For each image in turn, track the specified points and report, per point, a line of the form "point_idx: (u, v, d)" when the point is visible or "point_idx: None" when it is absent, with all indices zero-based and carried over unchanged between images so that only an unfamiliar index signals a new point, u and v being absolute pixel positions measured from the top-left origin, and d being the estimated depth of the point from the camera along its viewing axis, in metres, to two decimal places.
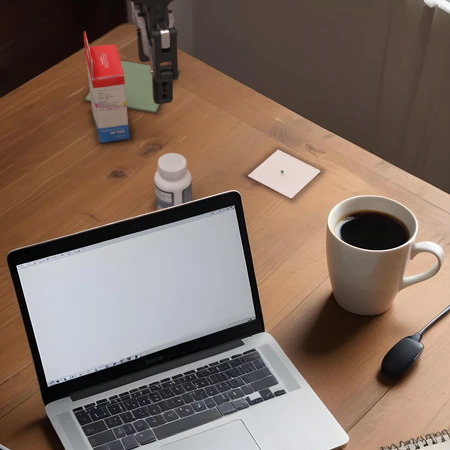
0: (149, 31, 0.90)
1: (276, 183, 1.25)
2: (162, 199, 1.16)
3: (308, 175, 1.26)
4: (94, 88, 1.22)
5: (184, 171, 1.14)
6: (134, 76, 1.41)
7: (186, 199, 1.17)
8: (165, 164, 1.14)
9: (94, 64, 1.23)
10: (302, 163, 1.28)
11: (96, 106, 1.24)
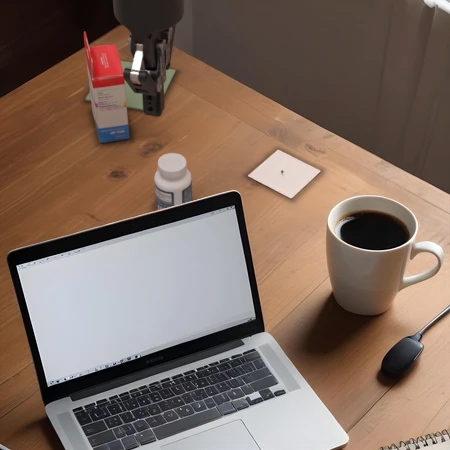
0: None
1: (276, 183, 1.25)
2: (162, 199, 1.16)
3: (308, 175, 1.26)
4: (94, 88, 1.22)
5: (184, 171, 1.14)
6: None
7: (186, 199, 1.17)
8: (165, 164, 1.14)
9: (94, 64, 1.23)
10: (302, 163, 1.28)
11: (96, 106, 1.24)
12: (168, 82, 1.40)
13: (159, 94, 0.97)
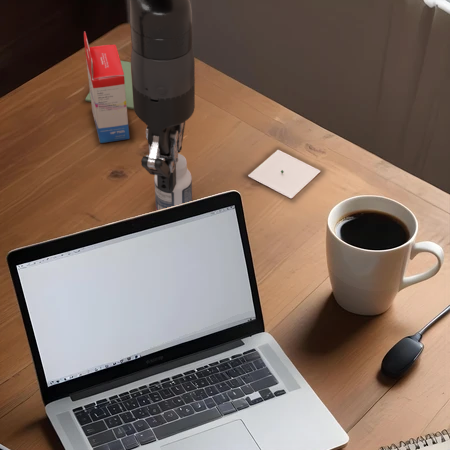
0: None
1: (276, 183, 1.25)
2: (162, 199, 1.16)
3: (308, 175, 1.26)
4: (94, 88, 1.22)
5: (184, 171, 1.14)
6: None
7: (186, 199, 1.17)
8: None
9: (94, 64, 1.23)
10: (302, 163, 1.28)
11: (96, 106, 1.24)
12: None
13: (172, 174, 1.10)
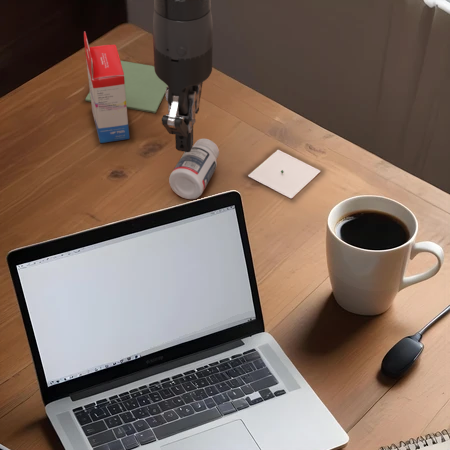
0: None
1: (276, 183, 1.25)
2: (196, 155, 1.21)
3: (308, 175, 1.26)
4: (94, 88, 1.22)
5: (217, 156, 1.25)
6: (134, 76, 1.41)
7: (210, 172, 1.22)
8: None
9: (94, 64, 1.23)
10: (302, 163, 1.28)
11: (96, 106, 1.24)
12: None
13: (189, 134, 1.16)
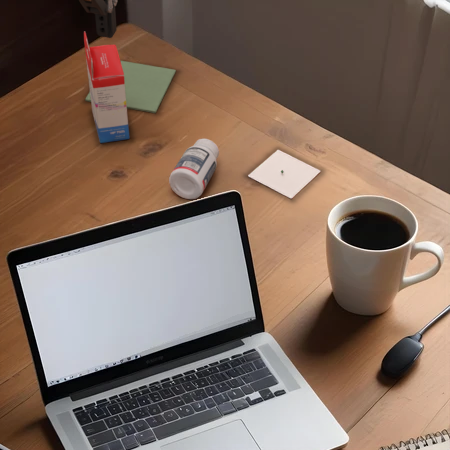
0: None
1: (276, 183, 1.25)
2: (196, 155, 1.21)
3: (308, 175, 1.26)
4: (94, 88, 1.22)
5: (217, 156, 1.25)
6: (134, 76, 1.41)
7: (210, 172, 1.22)
8: None
9: (94, 64, 1.23)
10: (302, 163, 1.28)
11: (96, 106, 1.24)
12: (168, 82, 1.40)
13: (110, 15, 1.06)
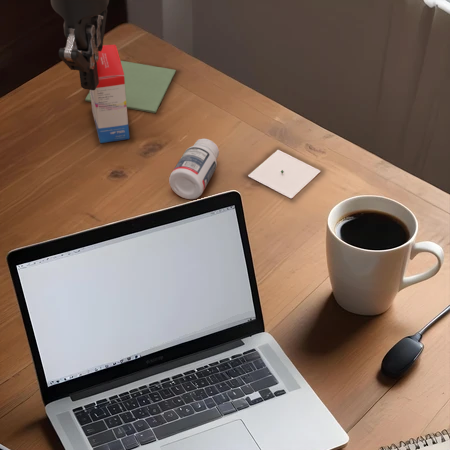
0: (66, 37, 1.10)
1: (276, 183, 1.25)
2: (196, 155, 1.21)
3: (308, 175, 1.26)
4: None
5: (217, 156, 1.25)
6: (134, 76, 1.41)
7: (210, 172, 1.22)
8: None
9: None
10: (302, 163, 1.28)
11: (96, 106, 1.24)
12: (168, 82, 1.40)
13: (93, 71, 1.16)
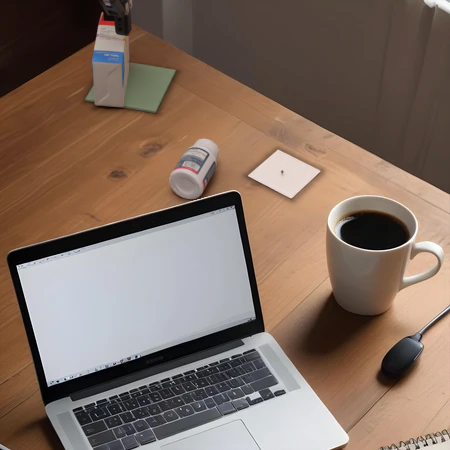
0: None
1: (276, 183, 1.25)
2: (196, 155, 1.21)
3: (308, 175, 1.26)
4: (99, 25, 1.35)
5: (217, 156, 1.25)
6: (134, 76, 1.41)
7: (210, 172, 1.22)
8: None
9: None
10: (302, 163, 1.28)
11: (97, 36, 1.33)
12: (168, 82, 1.40)
13: (127, 17, 1.27)
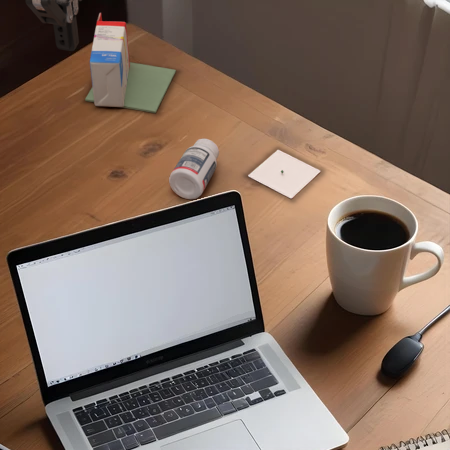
0: None
1: (276, 183, 1.25)
2: (196, 155, 1.21)
3: (308, 175, 1.26)
4: (96, 25, 1.35)
5: (217, 156, 1.25)
6: (134, 76, 1.41)
7: (210, 172, 1.22)
8: None
9: None
10: (302, 163, 1.28)
11: (94, 37, 1.33)
12: (168, 82, 1.40)
13: (70, 26, 0.92)
